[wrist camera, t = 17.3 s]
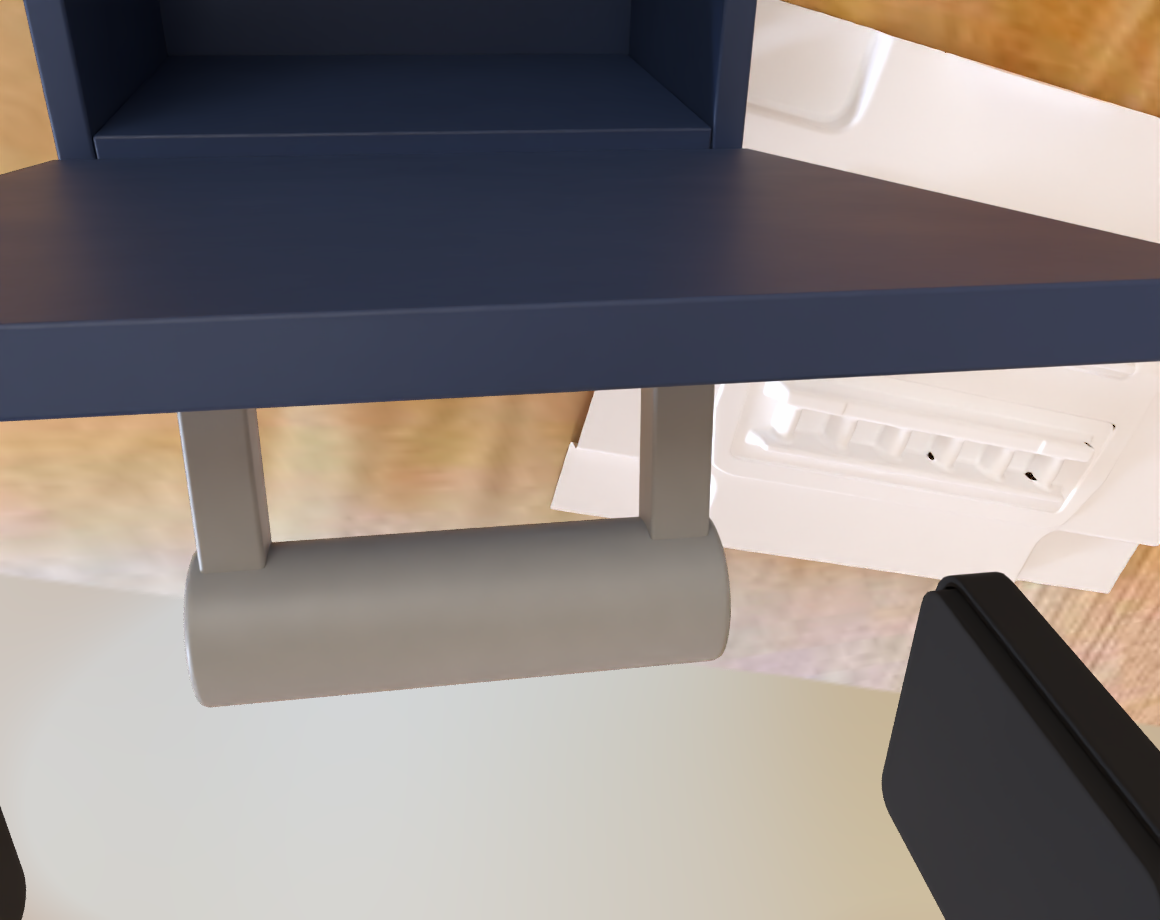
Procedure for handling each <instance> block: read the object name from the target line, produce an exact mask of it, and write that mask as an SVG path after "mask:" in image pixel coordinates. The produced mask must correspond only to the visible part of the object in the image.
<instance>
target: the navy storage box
mask: <svg viewBox="0 0 1160 920" xmlns="http://www.w3.org/2000/svg"><path fill="white" fill-rule="evenodd" d="M23 2H24V6H25V11H26V15H27V20H28V24H29V29H30V33H31V38H32V42H33V47H34V51H35V56H36V60H37V65H38V69H39V74H40V78H41V83H42V87H43V92H44V96H45V101H46V105H47V110H48V114H49V119H50V123H51V128H52V132H53V137H54V141H55V146H56V150H57V155H58V159H59V160H84V159H144V158H204V157H263V156H323V155H383V154H443V153H503V152H563V151H622V150H682V149H742V145H743V135H744V125H745V116H746V106H747V96H748V86H749V76H750V66H751V56H752V46H753V36H754V26H755V16H756V7H757V0H23Z"/></svg>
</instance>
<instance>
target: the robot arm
mask: <svg viewBox="0 0 1160 920" xmlns="http://www.w3.org/2000/svg"><path fill="white" fill-rule="evenodd" d="M882 791H883V798H884V801H885V804H886V807H887V810H888V812H889V814H890V816H891V818H892V820H893V822H894V824H895V826H896V827H897V829H898V831H899V833H900V835H901V837H902V839H903V841H904V842H905V844H906V846H907V848H908V850H909V852H910V854H911V856H912V857H913V859H914V861H915V863H916V865H917V867H918V869H919V871H920V872H921V874H922V876H923V878H924V880H925V882H926V884H927V886H928V887H929V889H930V891H931V893H932V895H933V897H934V899H935V901H936V903H937V905H938V906H939V908H940V910H941V912H942V914H943V916H944V918H945V920H1160V751H1159V750H1158V749H1157V748H1156V747H1155V745H1154V744H1153V743H1152V742H1151V741H1150V740H1149V739H1148V737H1147V736H1146V735H1145V734H1144V733H1143V732H1142V730H1141V729H1140V728H1139V727H1138V726H1137V725H1136V723H1135V722H1134V721H1133V720H1132V719H1131V718H1130V716H1129V715H1128V714H1127V713H1126V712H1125V711H1124V710H1123V708H1122V707H1121V706H1120V705H1119V704H1118V703H1117V702H1116V700H1115V699H1114V698H1113V697H1112V696H1111V695H1110V693H1109V692H1108V691H1107V690H1106V689H1105V688H1104V687H1103V685H1102V684H1101V683H1100V682H1099V681H1098V680H1097V678H1096V677H1095V676H1094V675H1093V674H1092V673H1091V672H1090V670H1089V669H1088V668H1087V667H1086V666H1085V665H1084V664H1083V662H1082V661H1081V660H1080V659H1079V658H1078V657H1077V655H1076V654H1075V653H1074V652H1073V651H1072V650H1071V649H1070V647H1069V646H1068V645H1067V644H1066V643H1065V642H1064V640H1063V639H1062V638H1061V637H1060V636H1059V635H1058V634H1057V632H1056V631H1055V630H1054V629H1053V628H1052V627H1051V625H1050V624H1049V623H1048V622H1047V621H1046V620H1045V619H1044V617H1043V616H1042V615H1041V614H1040V613H1039V612H1038V611H1037V609H1036V608H1035V607H1034V606H1033V605H1032V604H1031V602H1030V601H1029V600H1028V599H1027V598H1026V597H1025V596H1024V594H1023V593H1022V592H1021V591H1020V590H1019V589H1018V587H1017V586H1016V585H1015V584H1014V583H1013V582H1012V581H1011V579H1009V578H1008V577H1007V576H1006V575H1005V574H1004V573H1000V572H984V573H973V574H961V575H949V576H946V577H943V578H942V580H941V581H940V582H939V583H938V586H937V588H936V591H930V592H927V594H926V595H925V596H924V598H923V601H922V604H921V608H920V612H919V617H918V621H917V625H916V630H915V634H914V638H913V643H912V647H911V652H910V656H909V660H908V665H907V669H906V673H905V678H904V682H903V686H902V691H901V695H900V700H899V704H898V708H897V713H896V717H895V722H894V726H893V730H892V734H891V739H890V743H889V748H888V752H887V757H886V761H885V765H884V769H883V774H882ZM25 900H26V884H25V877H24V873H23V869H22V867H21V864H20V861H19V858H18V855H17V852H16V850H15V847H14V844H13V841H12V838H11V835H10V833H9V830H8V827H7V824H6V821H5V818H4V816H3V813H2V810H1V807H0V920H21V919H22V915H23V912H24V907H25Z"/></svg>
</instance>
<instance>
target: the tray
mask: <svg viewBox="0 0 1160 920" xmlns="http://www.w3.org/2000/svg"><path fill="white" fill-rule="evenodd" d="M742 148H747V149H752V150H756V151H760V152H765V153H769V154H773V155H778V156H782V157H786V158H791V159H795V160H799V161H804V162H808V163H812V164H817V165H821V166H825V167H830V168H834V169H839V170H843V171H847V172H852V173H856V174H860V175H865V176H869V177H873V178H878V179H882V180H886V181H891V182H895V183H899V184H904V185H908V186H912V187H917V188H921V189H925V190H930V191H934V192H938V193H943V194H947V195H951V196H956V197H960V198H964V199H969V200H973V201H977V202H982V203H986V204H990V205H995V206H999V207H1003V208H1008V209H1012V210H1016V211H1021V212H1025V213H1029V214H1034V215H1038V216H1042V217H1047V218H1051V219H1055V220H1060V221H1064V222H1068V223H1073V224H1077V225H1081V226H1086V227H1090V228H1094V229H1099V230H1103V231H1107V232H1112V233H1116V234H1120V235H1125V236H1129V237H1133V238H1138V239H1142V240H1146V241H1151V242H1155V243H1159V244H1160V118H1158V117H1156V116H1152V115H1148V114H1146V113H1142V112H1139V111H1135V110H1132V109H1129V108H1125V107H1123V106H1119V105H1116V104H1113V103H1110V102H1106V101H1103V100H1100V99H1096V98H1093V97H1090V96H1087V95H1084V94H1080V93H1077V92H1074V91H1071V90H1068V89H1064V88H1061V87H1058V86H1055V85H1051V84H1049V83H1045V82H1041V81H1039V80H1035V79H1032V78H1029V77H1025V76H1022V75H1019V74H1016V73H1012V72H1009V71H1006V70H1003V69H999V68H997V67H993V66H990V65H987V64H983V63H980V62H977V61H973V60H970V59H967V58H964V57H960V56H957V55H954V54H951V53H945V52H944V51H941V50H938V49H933V48H930V47H927V46H924V45H922V44H916V43H914V42H910V41H907V40H903V39H901V38H897V37H893V36H890V35H887V34H885V33H883V32H880V31H877V30H874V29H872V28H869V27H865V26H862V25H857V24H855V23H853V22H849V21H846V20H842V19H839V18H836V17H833V16H830V15H826V14H824V13H821V12H817V11H813V10H809V9H807V8H803V7H800V6H797V5H793V4H790V3H787V2H783V1H780V0H757V7H756V16H755V26H754V36H753V46H752V56H751V66H750V76H749V86H748V96H747V106H746V116H745V125H744V135H743V145H742ZM640 416H641V388H637V389H618V390H598V391H594V396H593V398H592V400H591V404H590V407H589V411H588V414H587V417H586V420H585V423H584V426H583V429H582V432H581V435H580V439H579V442H578V443H574V442H571V443H570V445H569V449H568V452H567V455H566V458H565V460H564V465H563V468H562V471H561V474H560V478H559V480H558V484H557V487H556V491H555V494H554V497H553V501H552V503H551V507H550V508H551V509H554V510H560V511H567V512H573V513H578V514H586V515H592V516H599V517H606V518H625V517H639V475H640ZM1112 424H1114V425H1115V428H1114V427H1113V425H1112ZM1113 429H1114V430H1113ZM1084 442H1086V443H1088V444H1089V446H1088V445H1087V444H1085V443H1084ZM929 452H931V453H932V454H933V456H934V460H931V459H930V458H929V457H928V456H927V455H928V453H929ZM1026 472H1032V474H1033V476H1034V477H1035V478H1036V479H1037V480H1031V479H1029V478H1028V477H1027V476H1026V475H1025V473H1026ZM709 517H710V519H711V520H712V521H713V523H714V525H715V527H716V529H717V532H718V534H719V537H720V539H721V542H722V546H723V547H724V548H730V549H737V550H743V551H750V552H756V553H764V554H771V555H777V556H785V557H791V558H798V559H806V560H812V561H818V562H826V563H834V564H840V565H845V566H853V567H860V568H868V569H874V570H880V571H885V572H894V573H900V574H907V575H914V576H915V575H916V576H921V577H927V578H933V579H941V580H942V578H943V577H946V576H949V575H961V574H973V573H984V572H1000V573H1004V574H1005V575H1006V576H1007V577H1008V578H1009V579H1011V581H1012V582H1013V583H1015V581H1016V580H1022V581H1028V582H1032V583H1038V584H1046V585H1052V586H1060V587H1067V588H1074V589H1080V590H1087V591H1093V592H1102V593H1107V594H1108V593H1109V592H1110V590H1111V589H1112V587H1113V586H1114V584H1115V582H1116V581H1117V579H1118V577H1119V575H1120V574H1121V572H1122V571H1123V569H1124V568H1125V566H1126V564H1127V563H1128V561H1129V559H1130V557H1131V556H1132V555H1133V553H1134V551H1135V550H1136V548H1137V546H1138V545H1139V544H1144V545H1149V546H1158V545H1159V544H1160V361H1157V362H1137V363H1118V364H1099V365H1080V366H1060V367H1041V368H1022V369H1003V370H983V371H964V372H945V373H926V374H906V375H887V376H868V377H849V378H829V379H810V380H791V381H772V382H752V383H733V384H715V390H714V413H713V437H712V461H711V484H710V508H709Z"/></svg>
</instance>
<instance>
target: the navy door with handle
mask: <svg viewBox="0 0 1160 920" xmlns="http://www.w3.org/2000/svg"><path fill="white" fill-rule="evenodd" d="M1157 361H1160V244H1159V243H1155V242H1151V241H1146V240H1142V239H1138V238H1133V237H1129V236H1125V235H1120V234H1116V233H1112V232H1107V231H1103V230H1099V229H1094V228H1090V227H1086V226H1081V225H1077V224H1073V223H1068V222H1064V221H1060V220H1055V219H1051V218H1047V217H1042V216H1038V215H1034V214H1029V213H1025V212H1021V211H1016V210H1012V209H1008V208H1003V207H999V206H995V205H990V204H986V203H982V202H977V201H973V200H969V199H964V198H960V197H956V196H951V195H947V194H943V193H938V192H934V191H930V190H925V189H921V188H917V187H912V186H908V185H904V184H899V183H895V182H891V181H886V180H882V179H878V178H873V177H869V176H865V175H860V174H856V173H852V172H847V171H843V170H839V169H834V168H830V167H825V166H821V165H817V164H812V163H808V162H804V161H799V160H795V159H791V158H786V157H782V156H778V155H773V154H769V153H765V152H760V151H756V150H752V149H747V148H742V149H682V150H622V151H563V152H503V153H443V154H383V155H323V156H263V157H204V158H144V159H84V160H52V161H48V162H45V163H41V164H37V165H34V166H30V167H27V168H23V169H19V170H16V171H12V172H9V173H5V174H1V175H0V422H2V421H21V420H40V419H59V418H79V417H98V416H117V415H136V414H156V413H175V412H177V416H178V423H179V430H180V437H181V444H182V451H183V458H184V465H185V472H186V479H187V486H188V493H189V500H190V507H191V514H192V521H193V527H194V534H195V541H196V548H197V551H196V552H195V553H194V555H193V557H192V559H191V562H190V565H189V569H188V573H187V578H186V585H185V595H184V640H185V651H186V660H187V666H188V672H189V677H190V681H191V685H192V688H193V690H194V693H195V695H196V698H197V700H198V701H199V703H200V704H201V705H203V706H206V707H219V706H230V705H241V704H252V703H262V702H273V701H284V700H295V699H305V698H316V697H327V696H338V695H348V694H359V693H369V692H380V691H391V690H402V689H413V688H423V687H434V686H445V685H456V684H466V683H477V682H488V681H498V680H509V679H520V678H530V677H541V676H551V675H563V674H574V673H584V672H595V671H606V670H616V669H627V668H638V667H647V666H659V665H670V664H681V663H692V662H702V661H712V660H715V659H717V658H719V657H720V656H721V655H722V654H723V652H724V650H725V647H726V644H727V640H728V635H729V628H730V617H731V598H730V583H729V575H728V568H727V563H726V558H725V553H724V549H723V546H722V542H721V539H720V537H719V534H718V532H717V529H716V527H715V525H714V523H713V521H712V520H711V519H710V517H709V508H710V484H711V461H712V437H713V413H714V390H715V384H733V383H752V382H772V381H791V380H810V379H829V378H849V377H868V376H887V375H906V374H926V373H945V372H964V371H983V370H1003V369H1022V368H1041V367H1060V366H1080V365H1099V364H1118V363H1137V362H1157ZM637 388H641V416H640V475H639V517H625V518H611V519H597V520H582V521H568V522H554V523H540V524H526V525H512V526H498V527H484V528H470V529H456V530H441V531H427V532H413V533H399V534H385V535H371V536H357V537H343V538H329V539H315V540H300V541H286V542H271V533H270V525H269V516H268V507H267V499H266V490H265V482H264V473H263V464H262V456H261V447H260V438H259V430H258V421H257V413H256V408H271V407H290V406H310V405H329V404H348V403H367V402H387V401H406V400H425V399H444V398H464V397H483V396H502V395H521V394H541V393H560V392H579V391H598V390H618V389H637Z"/></svg>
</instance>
